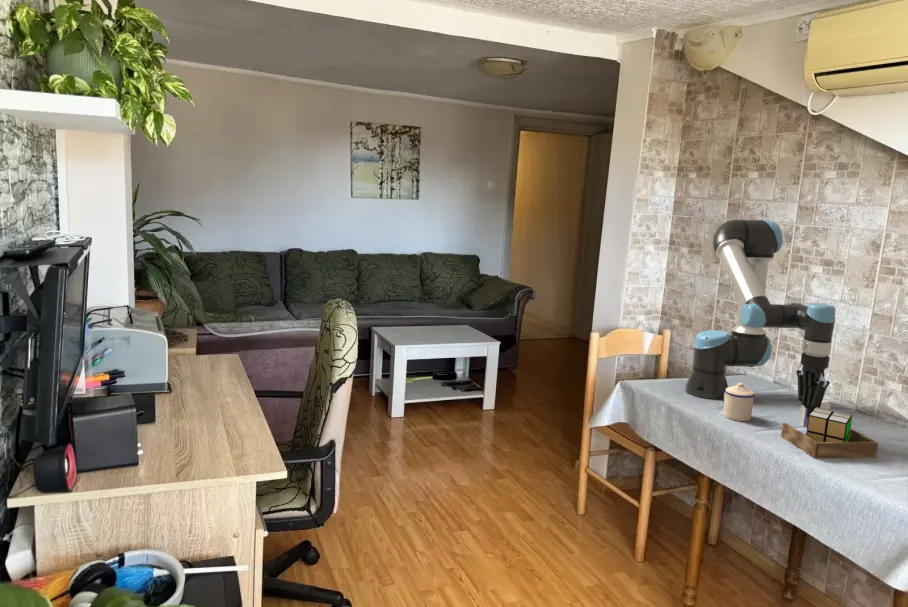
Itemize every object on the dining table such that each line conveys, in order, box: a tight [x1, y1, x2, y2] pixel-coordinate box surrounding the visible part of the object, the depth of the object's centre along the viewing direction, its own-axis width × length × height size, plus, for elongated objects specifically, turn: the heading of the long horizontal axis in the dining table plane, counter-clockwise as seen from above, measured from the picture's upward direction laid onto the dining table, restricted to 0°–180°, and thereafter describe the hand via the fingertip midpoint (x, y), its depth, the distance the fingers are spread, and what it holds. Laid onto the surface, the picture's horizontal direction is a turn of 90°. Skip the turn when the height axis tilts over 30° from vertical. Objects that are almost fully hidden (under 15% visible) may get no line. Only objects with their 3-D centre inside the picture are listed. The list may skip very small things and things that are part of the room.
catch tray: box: [780, 422, 879, 459], centre depth 191 cm, size 16×19×4 cm
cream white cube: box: [800, 398, 831, 416], centre depth 218 cm, size 6×6×6 cm
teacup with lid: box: [722, 382, 756, 422], centre depth 216 cm, size 12×9×12 cm
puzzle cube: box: [805, 407, 853, 442], centre depth 191 cm, size 10×10×10 cm
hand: (805, 426), depth 202 cm, fingers closed
